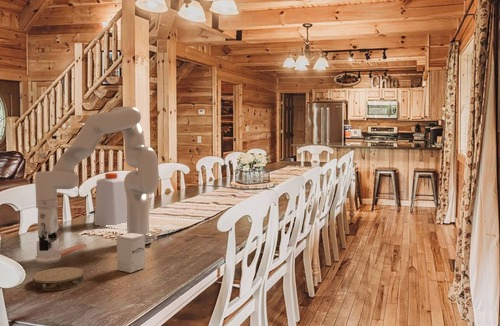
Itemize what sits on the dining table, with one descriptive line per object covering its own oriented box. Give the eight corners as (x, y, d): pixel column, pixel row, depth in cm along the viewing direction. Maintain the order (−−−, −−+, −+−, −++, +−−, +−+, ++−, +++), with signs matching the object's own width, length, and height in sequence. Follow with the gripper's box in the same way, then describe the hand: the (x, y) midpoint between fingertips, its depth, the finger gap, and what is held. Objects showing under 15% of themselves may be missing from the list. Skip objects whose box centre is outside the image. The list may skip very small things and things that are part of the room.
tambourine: (48, 274, 174) (48, 266, 174) (91, 276, 172) (91, 267, 172) (23, 289, 158) (22, 280, 158) (70, 291, 156) (69, 282, 156)
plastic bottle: (91, 227, 255) (89, 173, 253) (114, 222, 267) (113, 171, 265) (110, 231, 246) (109, 175, 244) (133, 226, 259) (132, 173, 257)
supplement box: (131, 273, 175) (130, 238, 174) (116, 270, 179) (115, 235, 178) (145, 268, 181) (145, 234, 180) (131, 265, 185) (130, 232, 184)
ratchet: (92, 248, 210) (91, 235, 209) (50, 265, 184) (50, 250, 184) (74, 247, 212) (73, 233, 212) (30, 263, 187) (30, 248, 186)
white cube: (59, 253, 193) (59, 238, 193) (54, 257, 187) (53, 241, 186) (43, 253, 193) (42, 238, 192) (37, 257, 186) (36, 242, 186)
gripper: (49, 207, 180) (50, 253, 181) (63, 200, 197) (65, 241, 198) (28, 207, 179) (30, 253, 181) (44, 200, 197) (46, 242, 198)
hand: (48, 247), depth 190 cm, fingers open, 9 cm apart
